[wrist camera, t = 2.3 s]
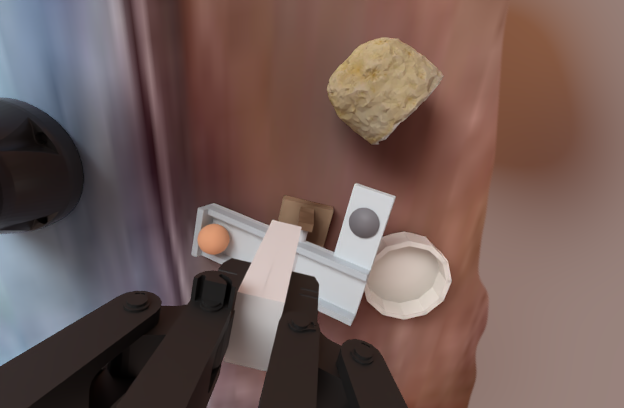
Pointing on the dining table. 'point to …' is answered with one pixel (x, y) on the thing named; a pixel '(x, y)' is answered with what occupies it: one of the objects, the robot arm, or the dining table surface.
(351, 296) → the lever
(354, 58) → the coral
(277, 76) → the dining table surface
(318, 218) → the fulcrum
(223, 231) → the ball
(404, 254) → the bowl
